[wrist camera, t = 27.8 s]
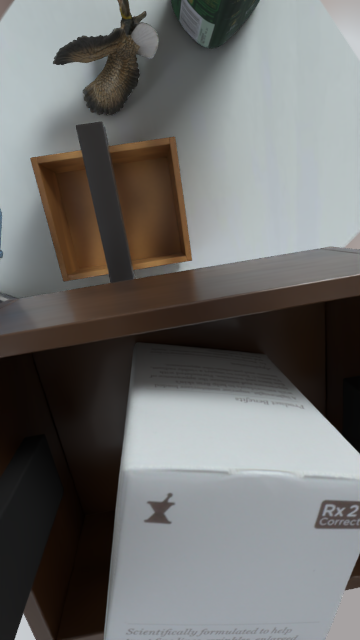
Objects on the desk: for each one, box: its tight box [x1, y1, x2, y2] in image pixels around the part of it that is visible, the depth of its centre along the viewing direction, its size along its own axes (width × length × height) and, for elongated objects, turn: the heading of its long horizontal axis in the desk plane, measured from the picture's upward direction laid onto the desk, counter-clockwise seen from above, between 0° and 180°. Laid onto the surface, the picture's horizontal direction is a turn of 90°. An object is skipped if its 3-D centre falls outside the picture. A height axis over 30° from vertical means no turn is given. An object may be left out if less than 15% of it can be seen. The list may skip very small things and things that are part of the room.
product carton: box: [104, 342, 360, 640], centre depth 11 cm, size 6×6×7 cm
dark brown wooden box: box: [0, 247, 360, 640], centre depth 12 cm, size 14×12×6 cm
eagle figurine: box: [53, 0, 159, 115], centre depth 30 cm, size 8×7×9 cm
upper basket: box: [30, 122, 192, 283], centre depth 31 cm, size 14×12×14 cm
